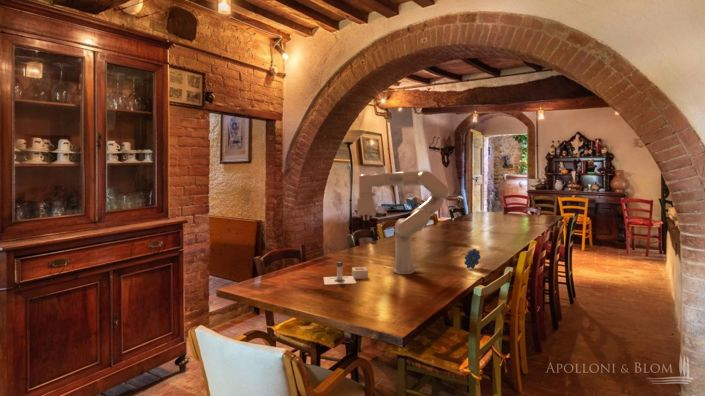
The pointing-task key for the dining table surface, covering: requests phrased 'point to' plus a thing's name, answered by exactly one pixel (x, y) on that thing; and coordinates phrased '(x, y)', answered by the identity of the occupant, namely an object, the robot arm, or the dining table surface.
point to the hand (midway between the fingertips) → (365, 226)
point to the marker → (339, 271)
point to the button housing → (359, 273)
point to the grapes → (472, 258)
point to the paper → (334, 281)
